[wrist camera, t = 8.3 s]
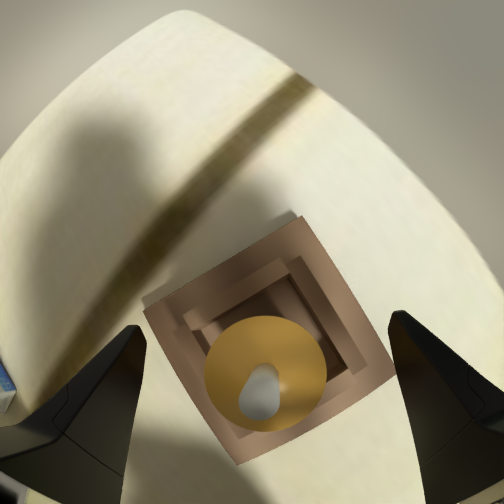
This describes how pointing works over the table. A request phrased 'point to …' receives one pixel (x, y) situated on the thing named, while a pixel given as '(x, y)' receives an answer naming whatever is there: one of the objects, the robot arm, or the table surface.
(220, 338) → the yellow cylindrical piece
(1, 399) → the medicine box
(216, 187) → the table surface
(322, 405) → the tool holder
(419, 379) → the robot arm
